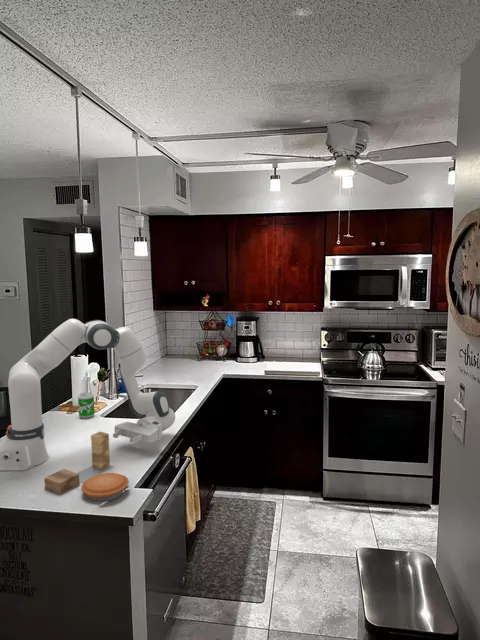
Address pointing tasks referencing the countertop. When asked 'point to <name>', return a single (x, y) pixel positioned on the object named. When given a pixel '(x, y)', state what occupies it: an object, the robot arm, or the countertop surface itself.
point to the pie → (105, 486)
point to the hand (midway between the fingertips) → (122, 438)
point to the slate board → (90, 473)
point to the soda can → (86, 405)
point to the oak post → (100, 450)
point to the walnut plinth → (61, 481)
